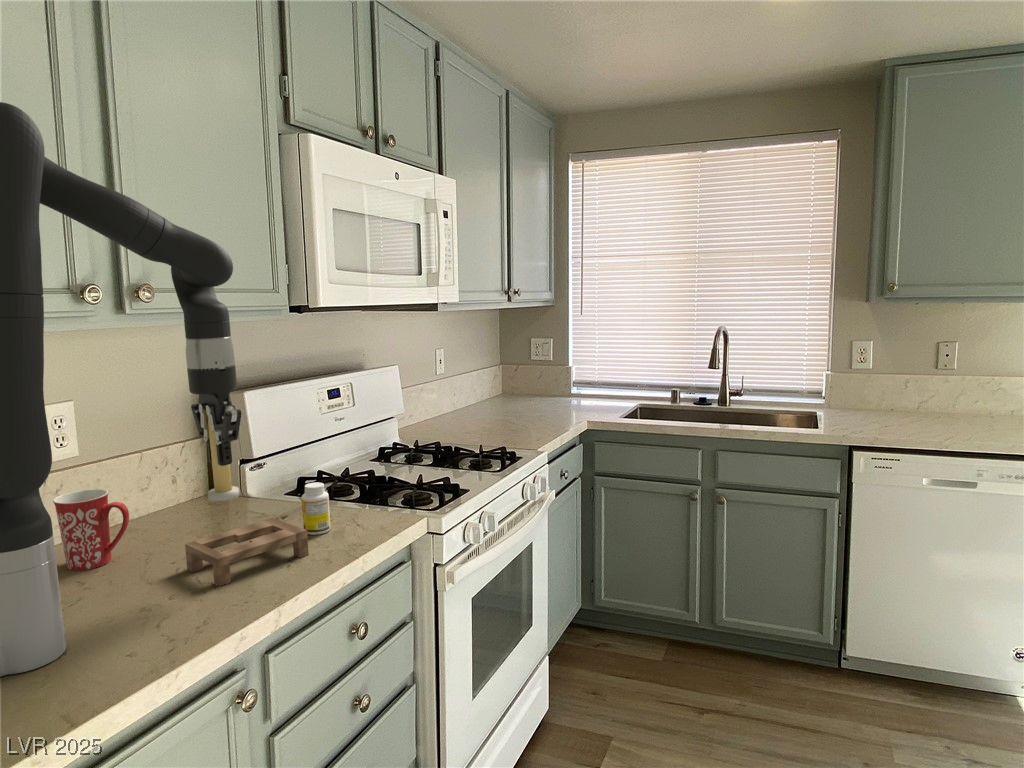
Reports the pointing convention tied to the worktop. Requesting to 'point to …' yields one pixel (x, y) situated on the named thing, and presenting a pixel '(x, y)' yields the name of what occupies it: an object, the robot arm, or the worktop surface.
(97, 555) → the mug
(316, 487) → the supplement bottle
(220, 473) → the peg
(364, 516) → the worktop surface
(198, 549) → the keyhole board
